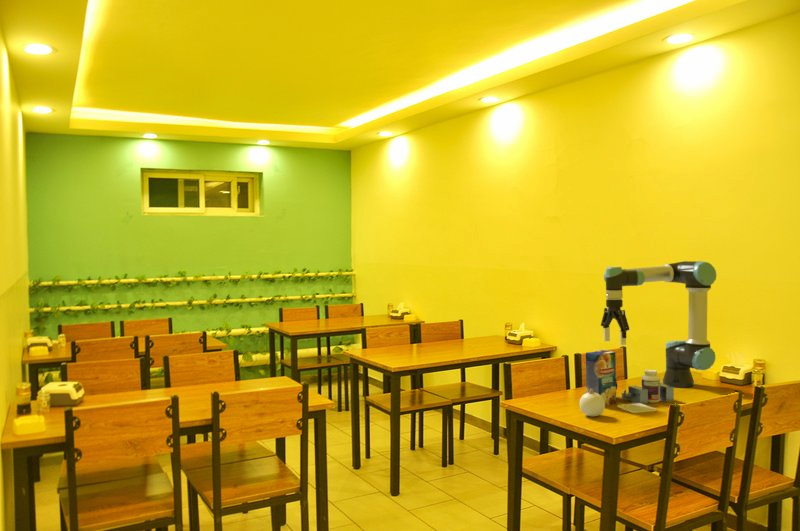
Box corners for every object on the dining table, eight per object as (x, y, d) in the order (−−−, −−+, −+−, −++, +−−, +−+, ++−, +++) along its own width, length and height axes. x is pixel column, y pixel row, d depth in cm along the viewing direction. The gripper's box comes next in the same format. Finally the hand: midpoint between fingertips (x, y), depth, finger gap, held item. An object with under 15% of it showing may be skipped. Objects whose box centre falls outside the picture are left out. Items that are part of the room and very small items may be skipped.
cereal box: (599, 407, 293) (598, 354, 292) (586, 404, 299) (585, 352, 299) (616, 403, 300) (615, 352, 299) (603, 400, 306) (602, 350, 305)
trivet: (639, 404, 296) (639, 403, 296) (656, 410, 284) (656, 409, 284) (617, 407, 292) (617, 405, 292) (633, 413, 281) (633, 411, 281)
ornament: (590, 420, 271) (590, 392, 271) (575, 414, 280) (574, 387, 280) (609, 417, 275) (609, 389, 275) (593, 412, 285) (593, 385, 284)
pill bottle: (646, 398, 308) (646, 368, 307) (663, 401, 302) (662, 370, 302) (638, 401, 302) (638, 371, 302) (655, 404, 296) (655, 373, 296)
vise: (653, 395, 314) (653, 381, 314) (673, 401, 300) (673, 386, 300) (611, 399, 308) (611, 384, 308) (630, 406, 294) (629, 390, 294)
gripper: (593, 297, 320) (593, 340, 320) (622, 301, 295) (623, 347, 296) (606, 297, 321) (607, 339, 322) (636, 300, 297) (637, 346, 298)
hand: (614, 343), depth 309 cm, fingers open, 13 cm apart
